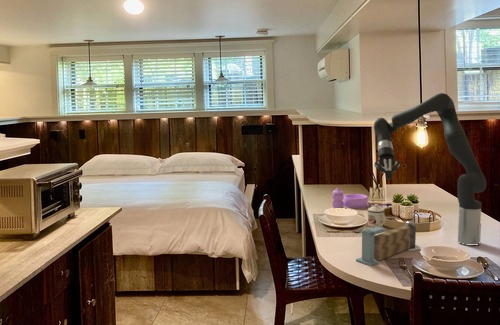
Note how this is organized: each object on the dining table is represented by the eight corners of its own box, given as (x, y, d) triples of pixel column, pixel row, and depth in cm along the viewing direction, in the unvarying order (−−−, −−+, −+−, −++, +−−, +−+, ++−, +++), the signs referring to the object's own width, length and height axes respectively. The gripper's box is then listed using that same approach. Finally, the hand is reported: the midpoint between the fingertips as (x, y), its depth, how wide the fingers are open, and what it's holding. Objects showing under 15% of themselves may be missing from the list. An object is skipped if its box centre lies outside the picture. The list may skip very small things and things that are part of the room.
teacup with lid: (363, 224, 245) (364, 204, 244) (376, 222, 249) (376, 202, 247) (378, 229, 234) (379, 208, 233) (391, 227, 238) (392, 206, 237)
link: (407, 244, 209) (408, 223, 207) (417, 246, 205) (418, 225, 204) (370, 258, 191) (371, 235, 190) (380, 261, 187) (381, 238, 186)
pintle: (417, 244, 209) (418, 219, 207) (421, 250, 200) (422, 224, 199) (397, 244, 210) (398, 219, 209) (401, 250, 202) (401, 224, 200)
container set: (358, 202, 300) (358, 183, 298) (372, 206, 286) (372, 186, 284) (326, 206, 291) (326, 186, 289) (339, 211, 277) (339, 190, 275)
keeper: (373, 255, 196) (373, 225, 195) (388, 259, 190) (388, 229, 188) (355, 260, 190) (356, 230, 188) (370, 266, 183) (371, 234, 182)
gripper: (398, 155, 229) (401, 182, 219) (371, 155, 231) (374, 182, 221) (400, 146, 223) (404, 174, 213) (373, 146, 225) (375, 174, 215)
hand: (388, 178), depth 217 cm, fingers closed
